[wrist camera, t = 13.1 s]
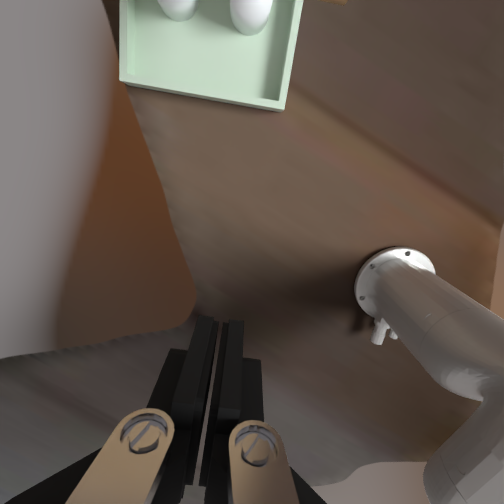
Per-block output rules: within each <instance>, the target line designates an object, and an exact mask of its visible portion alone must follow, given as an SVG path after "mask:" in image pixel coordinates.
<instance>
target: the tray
mask: <svg viewBox="0 0 504 504" xmlns="http://www.w3.org/2000/svg"><path fill="white" fill-rule="evenodd" d="M302 5H303V0H273V2H272V6H271V10H270V14H269V18H268V22H267V24H266V26H265V28H264V29H263V30H262V31H261V32H260V33H258V34H256V35H252V36H248V35H244V34H242V33H240V32H239V31H238V30H237V29H236V28H235V26H234V24H233V22H232V19H231V14H230V0H199V2H198V8H197V10H196V12H195V14H194V15H193V16H192V17H191V18H190V19H189V20H187V21H183V22H178V21H174V20H172V19H171V18H169V17H168V16H167V15H166V14H165V13H164V11H163V10H162V8H161V6H160V4H159V3H158V1H157V0H120V43H119V70H120V72H119V73H120V74H119V75H120V76H119V80H120V81H122V82H123V83H125V84H127V85H129V86H134V87H139V88H145V89H151V90H156V91H162V92H168V93H173V94H179V95H184V96H190V97H196V98H201V99H207V100H213V101H218V102H224V103H230V104H235V105H241V106H247V107H252V108H258V109H264V110H269V111H275V112H282V111H283V110H284V108H285V102H286V97H287V91H288V85H289V79H290V74H291V68H292V62H293V56H294V51H295V45H296V39H297V33H298V28H299V22H300V16H301V10H302Z"/></svg>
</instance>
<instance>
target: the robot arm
mask: <svg viewBox="0 0 504 504" xmlns="http://www.w3.org/2000/svg"><path fill="white" fill-rule="evenodd" d="M354 293H355V297H356V300H357V302H358V304H359V305H360V307H361V308H362V309H363V310H364V311H365V312H366V313H367V314H368V315H370V316H372V317H374V318H375V320H374V323H375V327H374V329H373V331H372V334H371V337H370V340H371V341H372V342H373V343H375V344H378V345H381V344H382V343H383V340H384V337H385V333H386V330H387V329H389V328H391V329H390V332H389V334H388V335H389V336H390V337H391V338H393V339H397V338H398V337H399V339H400V340H401V341H402V342H403V343H404V345H405V346H406V347H407V348H408V349H409V351H410V352H411V353H412V354H413V355H414V357H415V358H416V359H417V360H418V362H419V363H420V364H421V365H422V366H423V368H424V369H425V370H426V371H427V372H428V373H429V375H430V376H431V377H432V378H433V379H434V380H435V381H436V382H437V383H438V384H440V385H441V386H442V387H444V388H445V389H447V390H449V391H451V392H453V393H455V394H458V395H460V396H463V397H466V398H470V399H474V400H479V401H483V402H482V403H481V405H480V406H479V407H478V408H477V409H476V411H475V412H474V413H473V414H472V415H471V417H470V418H469V419H468V420H467V421H466V422H465V423H464V424H463V425H462V426H461V427H460V428H459V429H458V430H457V431H456V432H455V433H454V434H453V435H452V436H451V437H450V438H449V439H448V440H447V441H446V442H445V443H444V444H443V445H442V446H441V447H440V448H439V449H438V450H437V451H436V452H435V453H434V454H433V455H432V456H431V458H430V459H429V461H428V462H427V464H426V466H425V469H424V474H423V475H424V476H423V481H424V486H425V491H426V494H427V496H428V499H429V502H430V504H504V320H503V319H502V318H500V317H499V316H497V315H496V314H494V313H493V312H491V311H490V310H488V309H487V308H485V307H483V306H482V305H480V304H479V303H477V302H476V301H474V300H473V299H471V298H470V297H468V296H467V295H465V294H464V293H462V292H461V291H459V290H458V289H456V288H455V287H453V286H452V285H450V284H449V283H447V282H446V281H444V280H443V279H441V278H440V277H438V276H437V275H435V269H434V267H433V264H432V263H431V261H430V260H429V258H427V257H426V256H425V255H424V254H423V253H421V252H419V251H418V250H415V249H413V248H409V247H392V248H388V249H385V250H382V251H380V252H378V253H377V254H375V255H373V256H372V257H371V258H370V259H368V260H367V261H366V262H365V264H364V265H363V266H362V267H361V269H360V271H359V272H358V274H357V277H356V280H355V285H354ZM213 320H214V317H210V316H202V315H199V317H198V320H197V323H196V327H195V330H194V333H193V336H192V339H191V343H190V346H189V349H188V350H180V349H172V348H171V349H170V351H169V353H168V356H167V358H166V360H165V363H164V365H163V368H162V370H161V373H160V375H159V378H158V380H157V383H156V385H155V388H154V390H153V393H152V395H151V398H150V400H149V403H148V405H147V407H146V409H140V410H137V411H135V412H132V413H130V414H129V415H128V416H126V417H125V418H123V420H122V421H121V422H120V423H119V424H118V425H117V427H116V428H115V430H114V431H113V433H112V434H111V436H110V437H109V439H108V440H107V442H106V443H105V445H104V446H103V447H102V448H100V449H98V450H97V451H95V452H93V453H91V454H90V455H88V456H86V457H84V458H83V459H81V460H79V461H77V462H75V463H74V464H72V465H70V466H68V467H67V468H65V469H63V470H61V471H60V472H58V473H56V474H54V475H52V476H51V477H49V478H47V479H45V480H44V481H42V482H40V483H38V484H37V485H35V486H33V487H31V488H30V489H28V490H26V491H24V492H22V493H21V494H19V495H17V496H15V497H14V498H12V499H10V500H9V501H8V502H6V503H5V504H178V503H180V501H181V498H183V494H184V489H185V485H193V480H194V474H195V468H196V462H197V457H198V451H199V445H200V439H201V433H202V428H203V422H204V416H205V410H206V404H207V399H208V393H209V387H210V381H211V374H212V366H213V359H214V352H215V345H216V338H217V331H218V324H219V322H217V321H213ZM243 333H244V321H239V320H232V319H230V320H229V323H225V322H223V328H222V334H221V341H220V347H219V353H218V360H217V366H216V373H215V379H214V385H213V392H212V398H211V405H210V411H209V418H208V425H207V432H206V439H205V445H204V452H203V459H202V466H201V473H200V480H199V486H204V487H206V490H205V498H204V501H205V502H204V504H327V503H326V502H325V501H324V500H323V499H322V498H321V497H320V496H319V495H318V494H317V493H316V492H315V491H314V490H313V489H312V488H311V487H310V486H309V485H308V484H307V483H306V482H305V481H304V480H303V479H302V478H301V477H300V476H299V475H298V474H297V473H296V472H295V471H294V470H293V469H292V468H291V467H290V466H289V462H288V459H287V455H286V451H285V447H284V444H283V441H282V439H281V437H280V435H279V434H278V432H277V431H276V430H275V429H274V428H273V427H271V426H270V425H269V424H267V423H264V413H263V393H262V374H261V361H260V360H258V359H250V358H243Z"/></svg>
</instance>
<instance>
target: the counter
mask: <svg viewBox="0 0 504 504" xmlns="http://www.w3.org/2000/svg"><path fill="white" fill-rule="evenodd" d="M320 1H324V2H329V3H334V4H338V5H343V6H344V5H345V3H346V2H347V1H348V0H320Z"/></svg>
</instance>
